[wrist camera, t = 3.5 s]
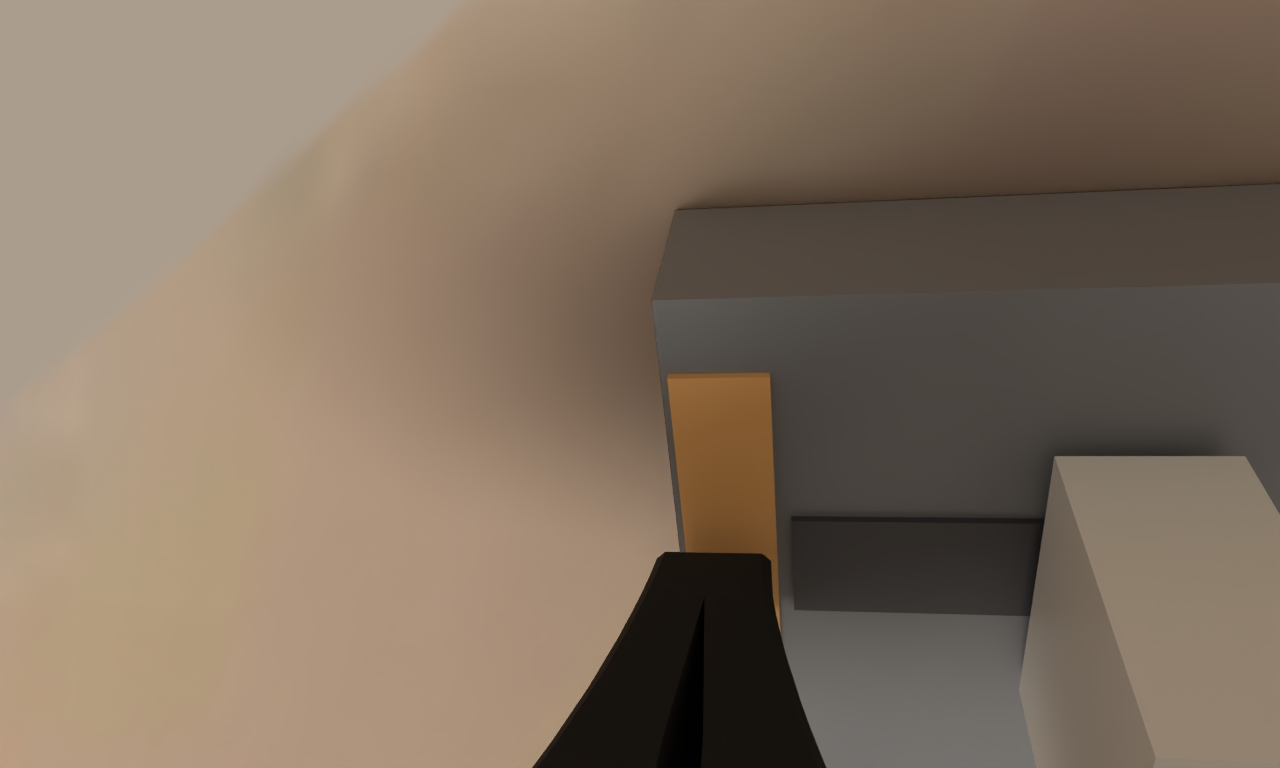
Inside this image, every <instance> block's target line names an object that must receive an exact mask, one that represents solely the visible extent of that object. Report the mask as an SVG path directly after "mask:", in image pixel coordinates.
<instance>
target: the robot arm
mask: <svg viewBox="0 0 1280 768" xmlns="http://www.w3.org/2000/svg"><path fill="white" fill-rule="evenodd" d="M532 768H826V765H825V763H824V761H823V758H822V756H821V753H820V751H819V748H818V745H817V743H816V740H815V738H814V735H813V733H812V730H811V728H810V725H809V723H808V720H807V717H806V714H805V711H804V709H803V706H802V703H801V700H800V697H799V694H798V691H797V688H796V685H795V682H794V678H793V675H792V672H791V669H790V666H789V663H788V660H787V656H786V653H785V649H784V645H783V642H782V638H781V633H780V629H779V625H778V620H777V616H776V611H775V605H774V600H773V587H772V566H771V560H769V559H768V558H767V557H766V556H765V555H763V554H761V553H698V552H664V553H663V554H662V555H661V556H660V557H658V558H657V560H656V562H655V565H654V567H653V570H652V572H651V574H650V577H649V579H648V581H647V583H646V585H645V587H644V590H643V592H642V594H641V596H640V598H639V600H638V602H637V604H636V606H635V608H634V610H633V611H632V613H631V615H630V617H629V619H628V621H627V623H626V624H625V626H624V628H623V630H622V632H621V634H620V635H619V637H618V639H617V641H616V642H615V644H614V646H613V647H612V649H611V651H610V652H609V654H608V656H607V657H606V659H605V661H604V662H603V664H602V666H601V667H600V669H599V671H598V673H597V674H596V676H595V678H594V679H593V681H592V682H591V684H590V686H589V687H588V689H587V690H586V692H585V693H584V695H583V696H582V698H581V699H580V701H579V702H578V704H577V705H576V707H575V708H574V710H573V711H572V713H571V714H570V715H569V717H568V718H567V720H566V721H565V723H564V724H563V726H562V727H561V729H560V730H559V732H558V733H557V735H556V736H555V738H554V739H553V740H552V742H551V743H550V745H549V746H548V747H547V749H546V750H545V751H544V753H543V754H542V755H541V757H540V758H539V759H538V761H537V762H536V763H535V765H534V766H533V767H532Z"/></svg>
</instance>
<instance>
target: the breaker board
mask: <svg viewBox="0 0 1280 768" xmlns="http://www.w3.org/2000/svg"><path fill="white" fill-rule="evenodd" d="M652 309H653V318H654V327H655V335H656V344H657V353H658V362H659V371H660V380H661V388H662V397H663V406H664V415H665V424H666V433H667V442H668V450H669V459H670V468H671V477H672V486H673V495H674V503H675V512H676V521H677V530H678V539H679V548H680V552H698V553H761V554H763V555H765V556H766V557H767V558H768V559H769V560H771V566H772V587H773V600H774V605H775V611H776V616H777V620H778V625H779V629H780V633H781V638H782V642H783V645H784V649H785V653H786V656H787V660H788V663H789V666H790V669H791V672H792V675H793V678H794V682H795V685H796V688H797V691H798V694H799V697H800V700H801V703H802V706H803V709H804V711H805V714H806V717H807V720H808V723H809V725H810V728H811V730H812V733H813V735H814V738H815V740H816V743H817V745H818V748H819V751H820V753H821V756H822V758H823V761H824V763H825V765H826V768H1036V765H1035V760H1034V755H1033V751H1032V746H1031V742H1030V737H1029V733H1028V728H1027V724H1026V719H1025V714H1024V710H1023V705H1022V701H1021V696H1020V692H1019V686H1020V680H1021V673H1022V666H1023V660H1024V653H1025V647H1026V640H1027V633H1028V627H1029V620H1030V614H1031V607H1032V601H1033V594H1034V587H1035V581H1036V574H1037V568H1038V561H1039V554H1040V548H1041V541H1042V535H1043V528H1044V522H1045V515H1046V508H1047V502H1048V495H1049V489H1050V482H1051V475H1052V469H1053V462H1054V456H1245V457H1246V458H1247V460H1248V462H1249V463H1250V465H1251V467H1252V469H1253V470H1254V472H1255V474H1256V475H1257V477H1258V479H1259V480H1260V482H1261V484H1262V485H1263V487H1264V489H1265V490H1266V492H1267V494H1268V496H1269V497H1270V499H1271V501H1272V502H1273V504H1274V506H1275V507H1276V509H1277V511H1278V512H1279V514H1280V184H1267V185H1244V186H1221V187H1198V188H1175V189H1152V190H1129V191H1105V192H1082V193H1059V194H1036V195H1013V196H990V197H967V198H944V199H921V200H898V201H874V202H851V203H828V204H805V205H782V206H759V207H736V208H713V209H690V210H675V212H674V216H673V220H672V224H671V228H670V232H669V235H668V239H667V243H666V247H665V251H664V255H663V258H662V262H661V266H660V270H659V274H658V278H657V281H656V285H655V289H654V293H653V297H652Z"/></svg>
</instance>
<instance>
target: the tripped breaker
mask: <svg viewBox="0 0 1280 768" xmlns="http://www.w3.org/2000/svg"><path fill="white" fill-rule="evenodd" d="M1019 692H1020V696H1021V701H1022V705H1023V710H1024V714H1025V719H1026V724H1027V728H1028V733H1029V737H1030V742H1031V746H1032V751H1033V755H1034V760H1035V765H1036V768H1280V514H1279V512H1278V511H1277V509H1276V507H1275V506H1274V504H1273V502H1272V501H1271V499H1270V497H1269V496H1268V494H1267V492H1266V490H1265V489H1264V487H1263V485H1262V484H1261V482H1260V480H1259V479H1258V477H1257V475H1256V474H1255V472H1254V470H1253V469H1252V467H1251V465H1250V463H1249V462H1248V460H1247V458H1246V457H1245V456H1054V462H1053V469H1052V475H1051V482H1050V489H1049V495H1048V502H1047V508H1046V515H1045V522H1044V528H1043V535H1042V541H1041V548H1040V554H1039V561H1038V568H1037V574H1036V581H1035V587H1034V594H1033V601H1032V607H1031V614H1030V620H1029V627H1028V633H1027V640H1026V647H1025V653H1024V660H1023V666H1022V673H1021V680H1020V686H1019Z"/></svg>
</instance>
